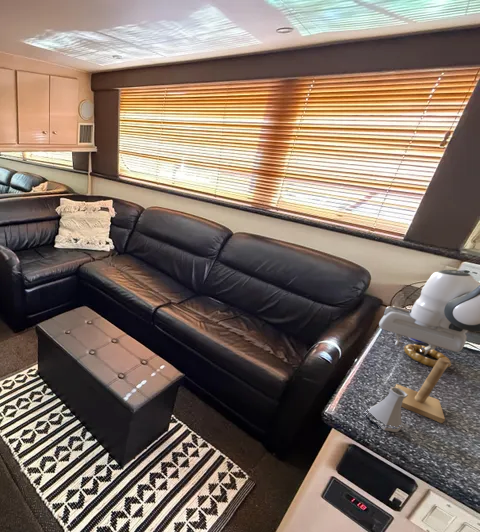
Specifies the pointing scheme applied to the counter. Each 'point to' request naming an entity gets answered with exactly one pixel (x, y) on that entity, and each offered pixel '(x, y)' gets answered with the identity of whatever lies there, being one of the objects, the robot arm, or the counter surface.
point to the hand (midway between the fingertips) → (409, 349)
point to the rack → (426, 394)
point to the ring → (414, 355)
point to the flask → (389, 409)
